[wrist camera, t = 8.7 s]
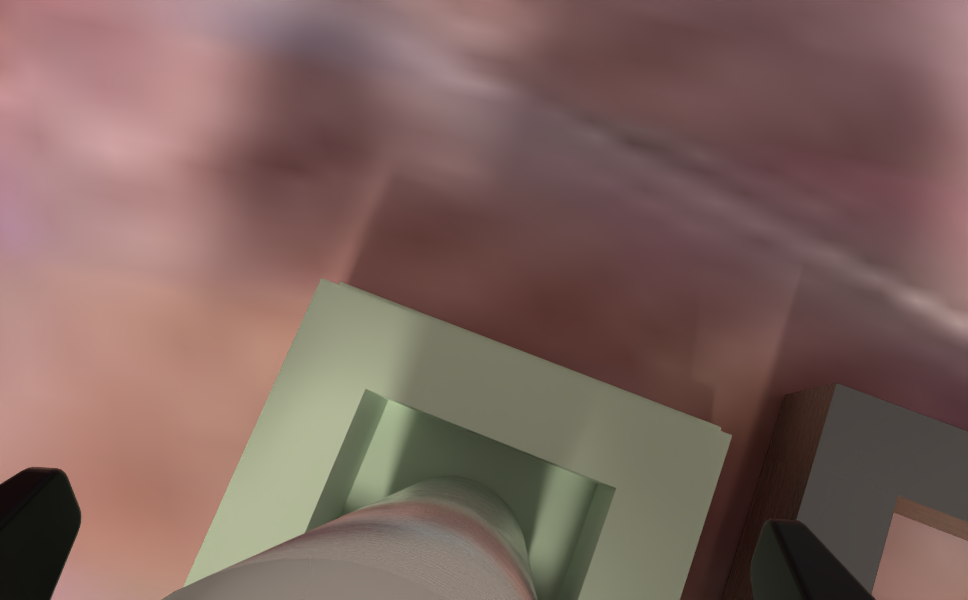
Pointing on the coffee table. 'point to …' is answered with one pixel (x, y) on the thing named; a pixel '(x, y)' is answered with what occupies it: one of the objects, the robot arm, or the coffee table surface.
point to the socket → (855, 478)
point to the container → (470, 449)
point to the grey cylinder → (392, 553)
